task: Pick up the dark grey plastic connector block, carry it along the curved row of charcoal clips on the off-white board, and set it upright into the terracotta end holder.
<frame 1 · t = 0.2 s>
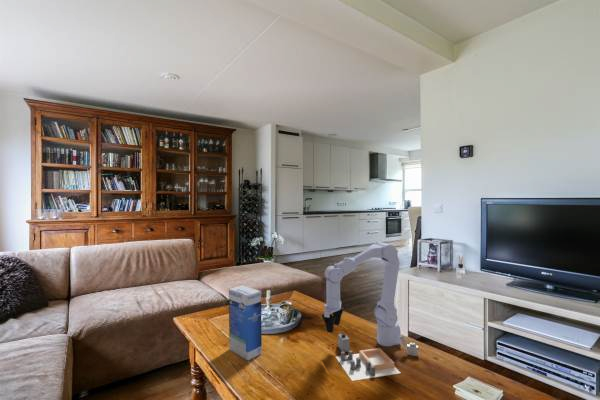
hand: (333, 328, 125), 10 cm above the table, tool pointing down, fingers open, 7 cm apart
string lights box: (244, 352, 124), on the table
connector: (343, 350, 125), on the table
lighter: (408, 356, 122), on the table
route board: (366, 366, 114), on the table
end holder: (376, 361, 116), resting on route board
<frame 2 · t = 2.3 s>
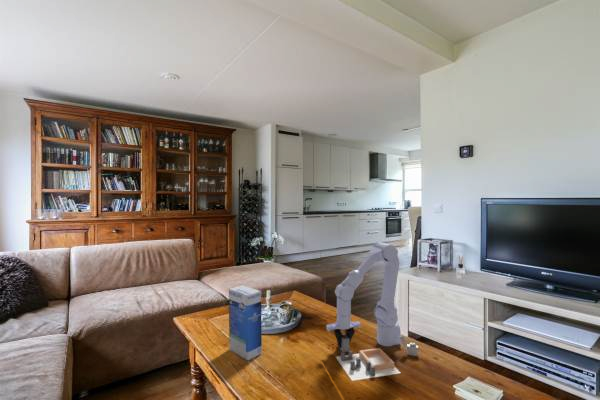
hand: (343, 346, 125), 2 cm above the table, tool pointing down, fingers closed on connector, 3 cm apart
connector: (343, 350, 125), on the table, touching gripper
everything else where it was.
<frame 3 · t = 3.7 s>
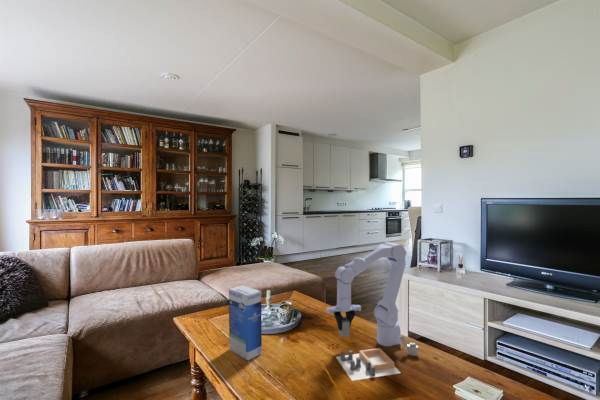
hand: (343, 329, 125), 9 cm above the table, tool pointing down, fingers closed on connector, 3 cm apart
connector: (343, 333, 125), point 7 cm above the table, touching gripper
everything else where it was.
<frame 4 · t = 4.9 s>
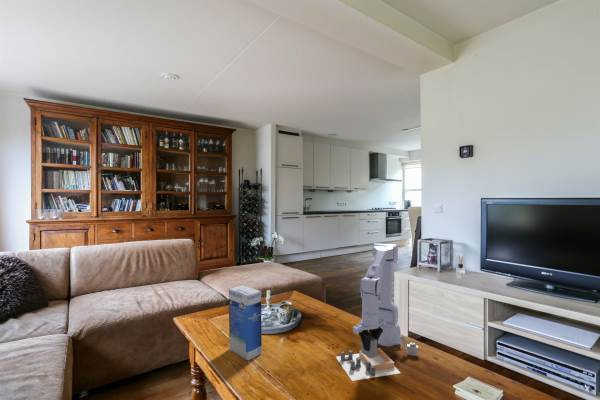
hand: (369, 348, 109), 9 cm above the table, tool pointing down, fingers closed on connector, 3 cm apart
connector: (369, 354, 109), point 7 cm above the table, touching gripper
everything else where it was.
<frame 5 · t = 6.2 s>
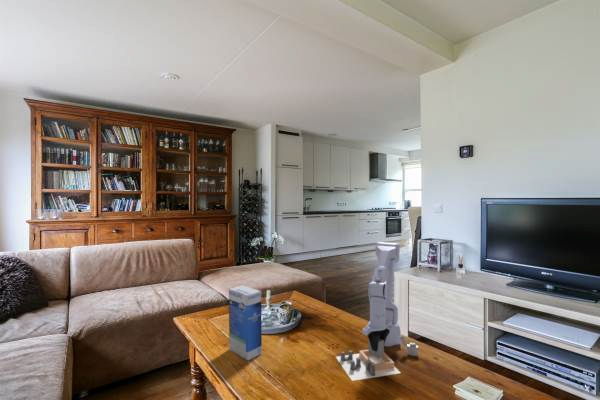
hand: (377, 348, 115), 6 cm above the table, tool pointing down, fingers closed on connector, 3 cm apart
connector: (375, 354, 115), point 4 cm above the table, touching gripper
everything else where it was.
when the fingers open (4 cm above the table, at t = 7.5 s): connector stays where it is, resting on route board.
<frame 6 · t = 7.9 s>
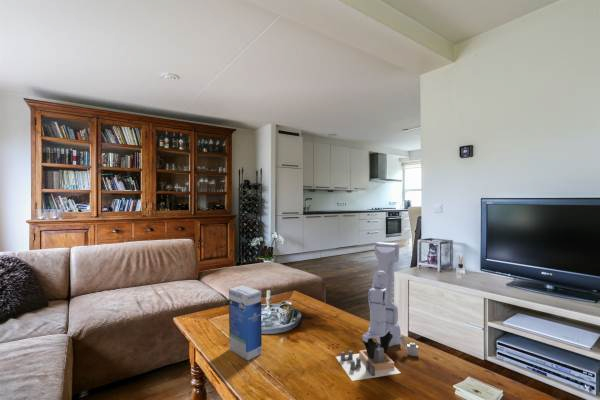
hand: (377, 355, 115), 4 cm above the table, tool pointing down, fingers open, 7 cm apart
connector: (376, 362, 115), point 1 cm above the table, touching route board
everything else where it was.
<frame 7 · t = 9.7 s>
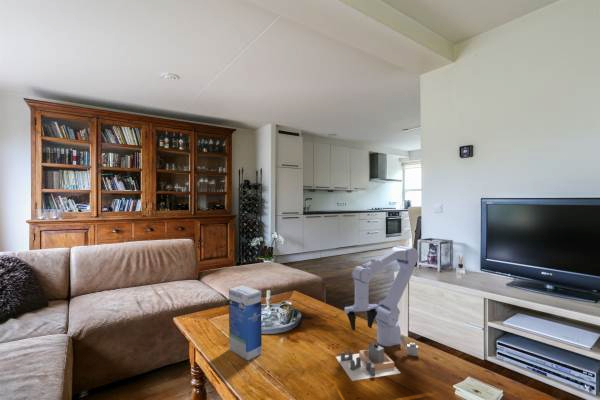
hand: (361, 328, 125), 9 cm above the table, tool pointing down, fingers open, 7 cm apart
nothing on the table moved.
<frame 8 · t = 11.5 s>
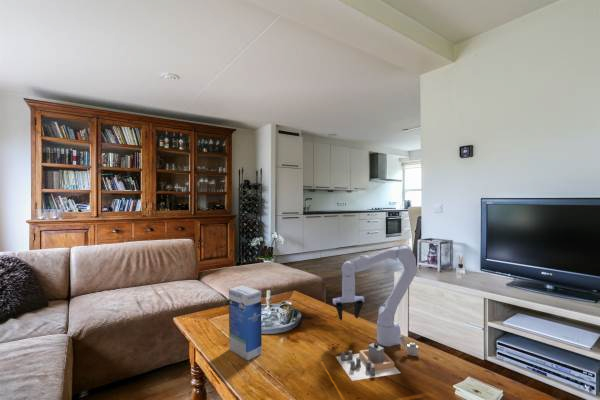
hand: (348, 318, 135), 9 cm above the table, tool pointing down, fingers open, 7 cm apart
nothing on the table moved.
at the end: connector 0.4 cm off-centre on the end holder, point 0.0 cm above the end holder's base; connector tilted 0°; the gripper is holding nothing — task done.
